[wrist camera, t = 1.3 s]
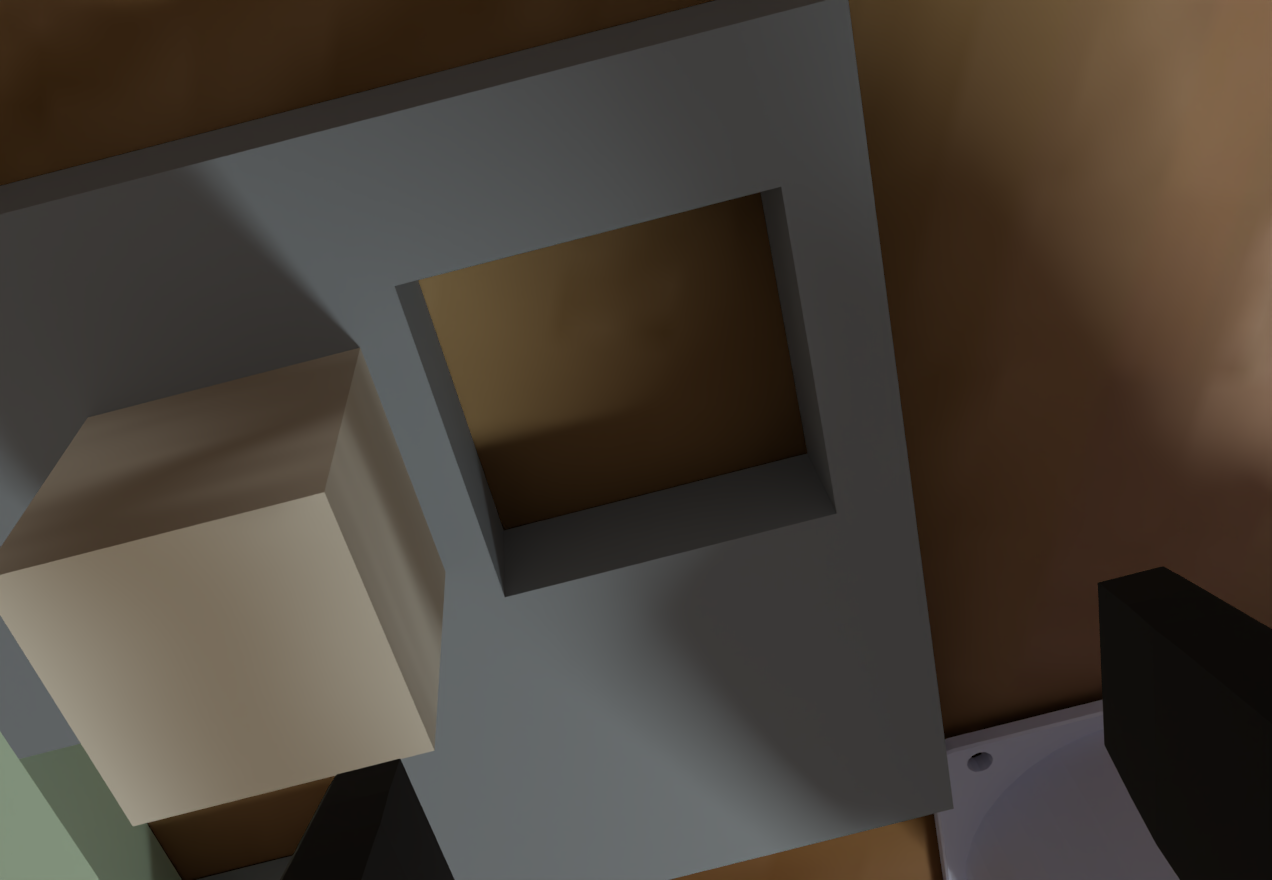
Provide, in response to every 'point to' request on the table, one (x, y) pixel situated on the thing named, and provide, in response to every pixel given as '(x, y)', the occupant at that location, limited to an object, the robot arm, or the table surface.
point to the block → (233, 590)
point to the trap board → (451, 470)
